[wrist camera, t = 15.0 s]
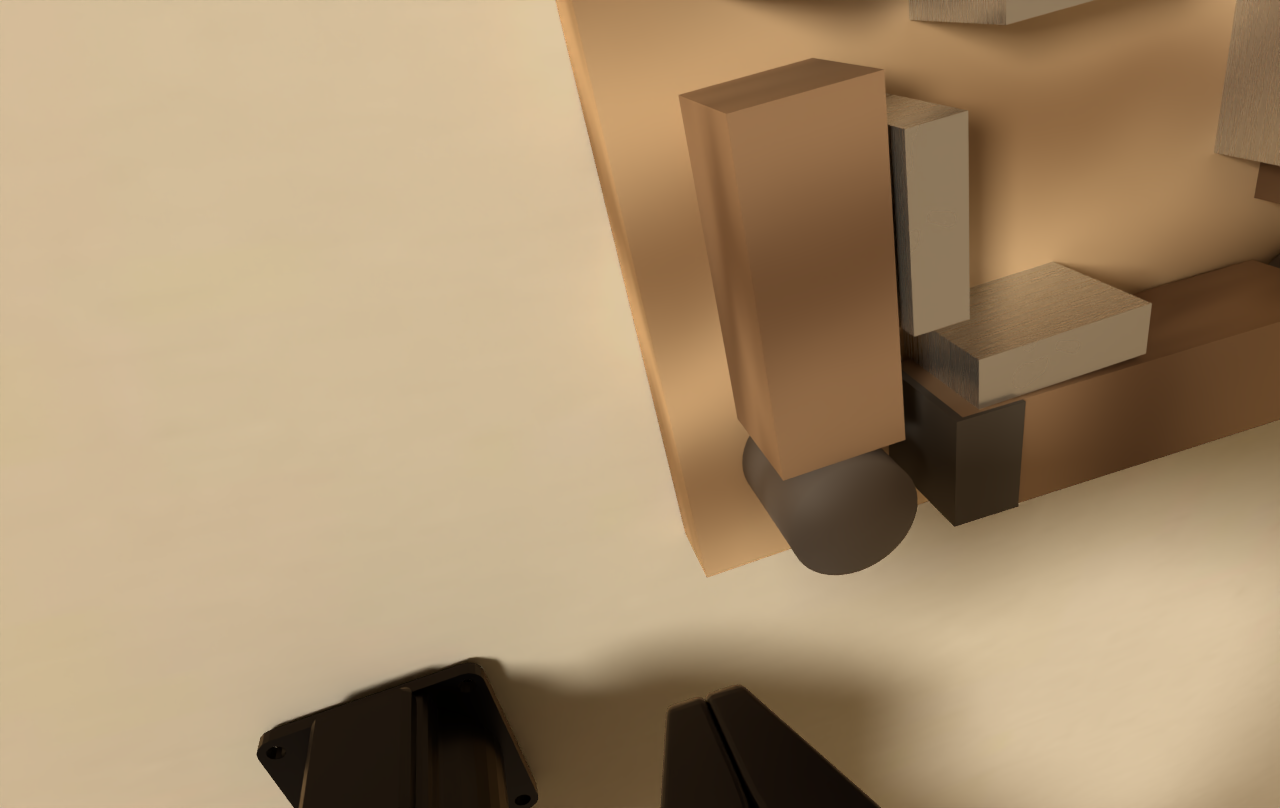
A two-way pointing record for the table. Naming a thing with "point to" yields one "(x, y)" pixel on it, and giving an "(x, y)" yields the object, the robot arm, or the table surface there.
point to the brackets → (1050, 293)
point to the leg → (1105, 402)
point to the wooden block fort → (875, 220)
